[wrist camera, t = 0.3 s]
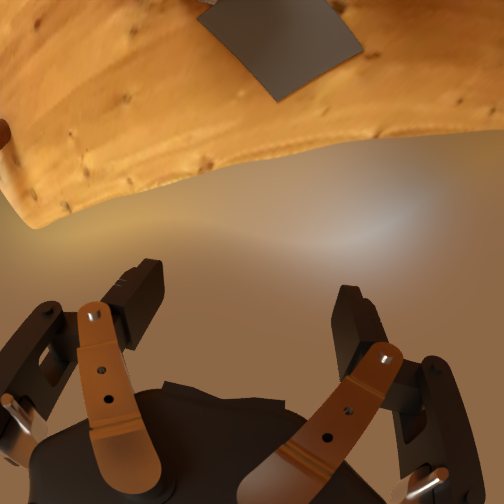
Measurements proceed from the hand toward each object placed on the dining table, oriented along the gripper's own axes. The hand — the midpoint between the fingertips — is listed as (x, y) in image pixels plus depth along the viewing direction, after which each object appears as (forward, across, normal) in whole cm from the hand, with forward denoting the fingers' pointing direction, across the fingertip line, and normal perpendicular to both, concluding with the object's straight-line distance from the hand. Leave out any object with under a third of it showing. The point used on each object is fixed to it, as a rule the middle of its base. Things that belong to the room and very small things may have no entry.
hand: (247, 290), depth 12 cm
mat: (+25, +1, -20) cm, 32 cm away
